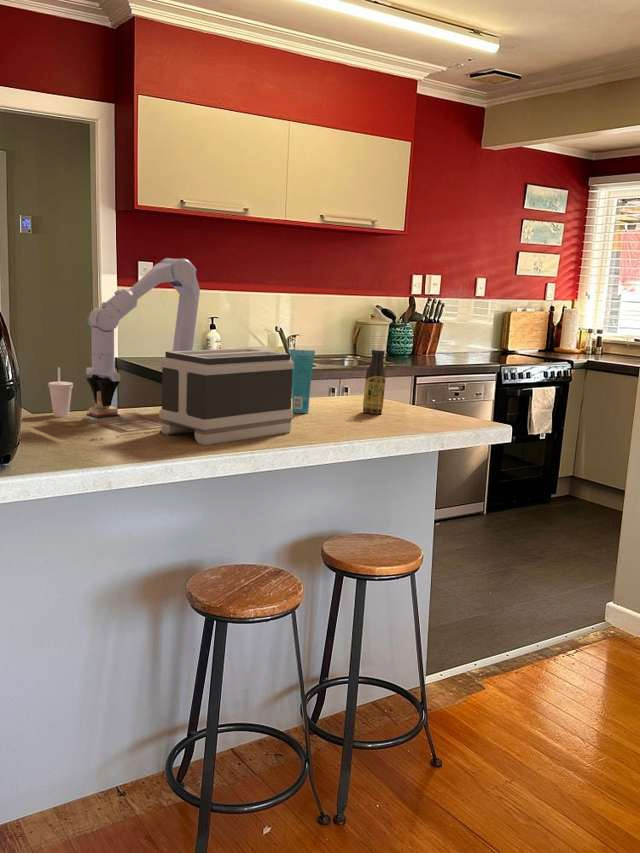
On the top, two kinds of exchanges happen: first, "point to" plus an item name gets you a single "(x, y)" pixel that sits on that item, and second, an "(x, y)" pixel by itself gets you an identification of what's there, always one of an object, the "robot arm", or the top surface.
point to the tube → (301, 379)
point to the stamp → (102, 408)
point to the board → (130, 423)
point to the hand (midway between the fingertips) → (103, 404)
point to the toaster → (226, 394)
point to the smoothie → (60, 397)
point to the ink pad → (103, 418)
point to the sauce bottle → (375, 384)
